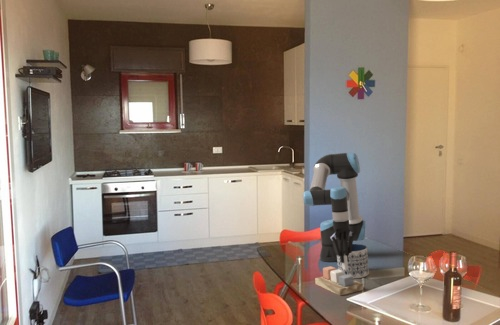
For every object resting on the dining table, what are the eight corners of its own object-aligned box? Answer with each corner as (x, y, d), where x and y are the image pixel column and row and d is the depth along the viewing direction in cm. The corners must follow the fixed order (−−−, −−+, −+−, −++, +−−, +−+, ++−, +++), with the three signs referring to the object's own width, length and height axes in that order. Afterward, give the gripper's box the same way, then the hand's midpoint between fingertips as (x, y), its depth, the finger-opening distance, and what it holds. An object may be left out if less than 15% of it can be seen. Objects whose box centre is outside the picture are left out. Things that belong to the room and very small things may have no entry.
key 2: (347, 284, 228) (347, 274, 228) (354, 286, 223) (353, 276, 223) (339, 286, 226) (338, 276, 226) (345, 289, 222) (344, 278, 221)
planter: (336, 278, 244) (333, 251, 244) (341, 270, 259) (338, 244, 259) (367, 279, 239) (365, 251, 238) (370, 270, 254) (368, 243, 253)
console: (337, 278, 244) (336, 273, 244) (363, 289, 224) (362, 283, 224) (315, 284, 239) (315, 278, 239) (340, 295, 219) (339, 289, 219)
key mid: (339, 278, 234) (338, 268, 234) (345, 281, 230) (344, 271, 230) (331, 280, 233) (330, 270, 232) (336, 283, 228) (335, 273, 228)
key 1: (331, 275, 241) (330, 266, 241) (337, 277, 236) (336, 268, 236) (323, 277, 239) (322, 267, 239) (328, 279, 234) (327, 270, 234)
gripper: (347, 216, 229) (351, 264, 231) (324, 221, 224) (329, 269, 226) (356, 218, 222) (361, 267, 224) (333, 223, 217) (338, 273, 219)
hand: (345, 268), depth 225 cm, fingers closed
